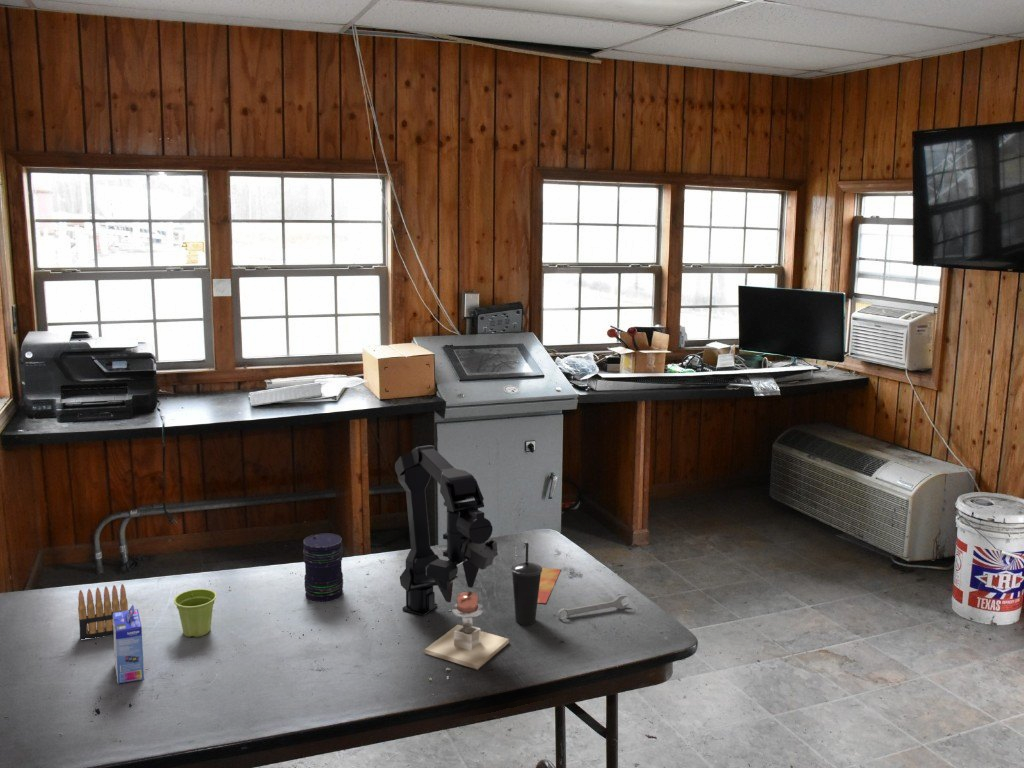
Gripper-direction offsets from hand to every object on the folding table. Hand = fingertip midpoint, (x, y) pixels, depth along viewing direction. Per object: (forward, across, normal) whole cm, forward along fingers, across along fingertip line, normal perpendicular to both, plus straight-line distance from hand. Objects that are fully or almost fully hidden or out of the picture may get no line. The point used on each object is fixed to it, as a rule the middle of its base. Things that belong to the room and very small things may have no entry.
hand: (459, 594), depth 200 cm
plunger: (+7, 0, -2) cm, 7 cm away
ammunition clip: (+12, -39, +74) cm, 84 cm away
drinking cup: (+13, +19, -7) cm, 24 cm away
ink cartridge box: (+13, -46, +55) cm, 73 cm away
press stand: (+13, 0, -2) cm, 13 cm away
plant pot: (+13, -26, +57) cm, 64 cm away
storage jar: (+12, +5, +45) cm, 47 cm away
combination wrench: (+13, +32, -19) cm, 40 cm away
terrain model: (+13, +37, +9) cm, 40 cm away
